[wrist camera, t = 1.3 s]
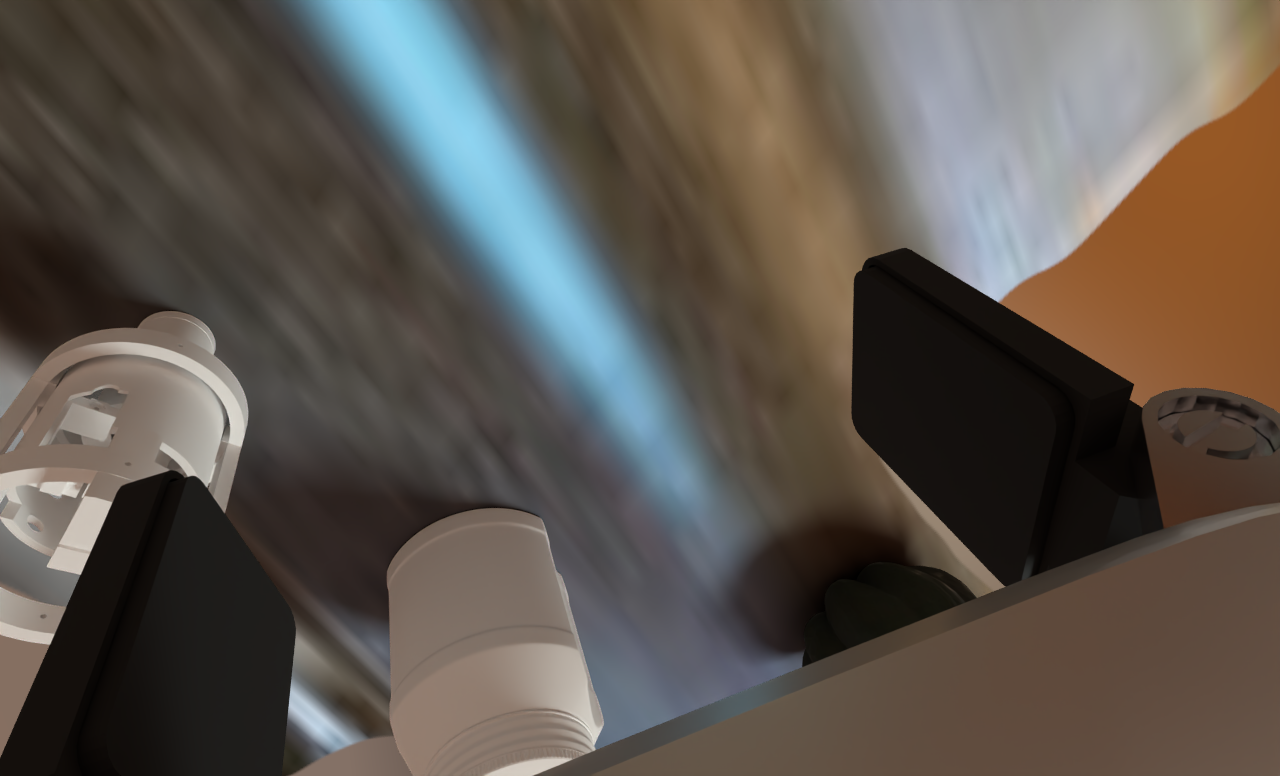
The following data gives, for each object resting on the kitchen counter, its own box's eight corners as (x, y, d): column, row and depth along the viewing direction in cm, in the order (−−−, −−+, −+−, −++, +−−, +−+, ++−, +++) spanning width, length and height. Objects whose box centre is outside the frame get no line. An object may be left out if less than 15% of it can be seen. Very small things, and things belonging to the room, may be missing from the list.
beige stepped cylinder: (291, 315, 33) (246, 540, 21) (224, 429, 35) (148, 693, 23) (118, 238, 29) (-56, 458, 17) (53, 369, 31) (-143, 649, 19)
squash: (753, 731, 55) (949, 857, 50) (823, 583, 49) (1056, 709, 43) (807, 628, 67) (970, 721, 61) (869, 498, 60) (1056, 590, 55)
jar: (572, 607, 50) (636, 827, 38) (435, 657, 48) (456, 902, 36) (531, 487, 43) (592, 708, 31) (370, 540, 41) (369, 795, 29)
